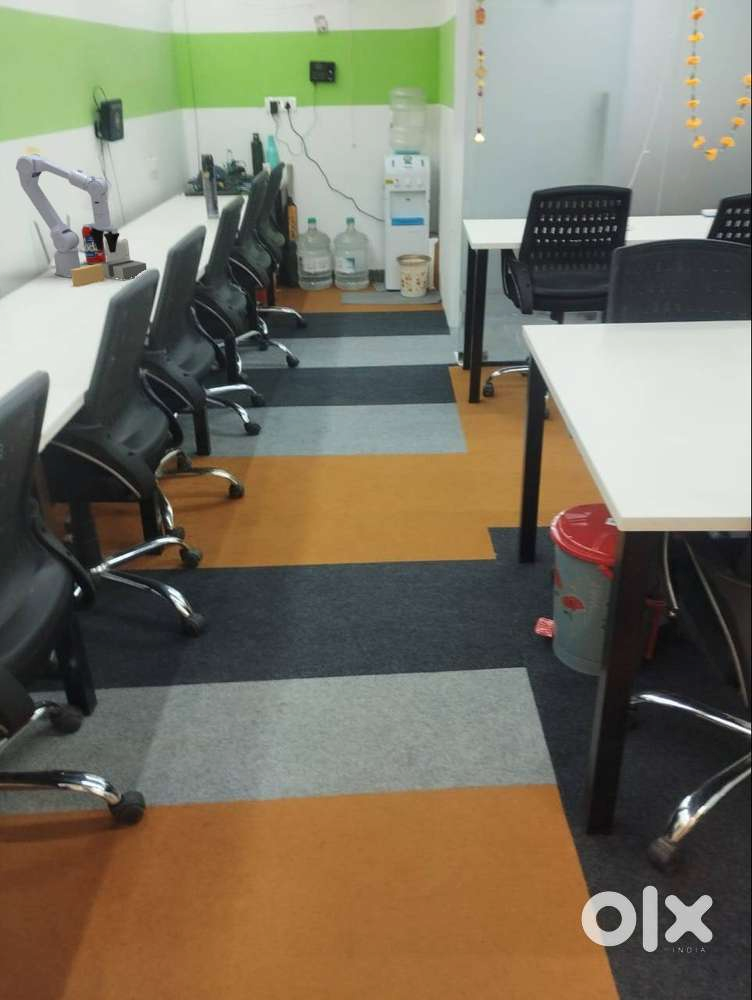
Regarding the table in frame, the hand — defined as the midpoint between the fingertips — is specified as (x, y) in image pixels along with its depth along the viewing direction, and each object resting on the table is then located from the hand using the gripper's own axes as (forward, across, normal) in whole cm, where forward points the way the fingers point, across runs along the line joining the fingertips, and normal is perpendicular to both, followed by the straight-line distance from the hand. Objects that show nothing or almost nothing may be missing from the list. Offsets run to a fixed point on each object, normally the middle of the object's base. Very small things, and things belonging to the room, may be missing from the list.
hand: (106, 250), depth 319 cm
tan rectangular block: (+10, -3, +12) cm, 15 cm away
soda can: (+10, +22, -10) cm, 26 cm away
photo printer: (+10, +10, -12) cm, 18 cm away
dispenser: (+9, -3, -4) cm, 11 cm away
